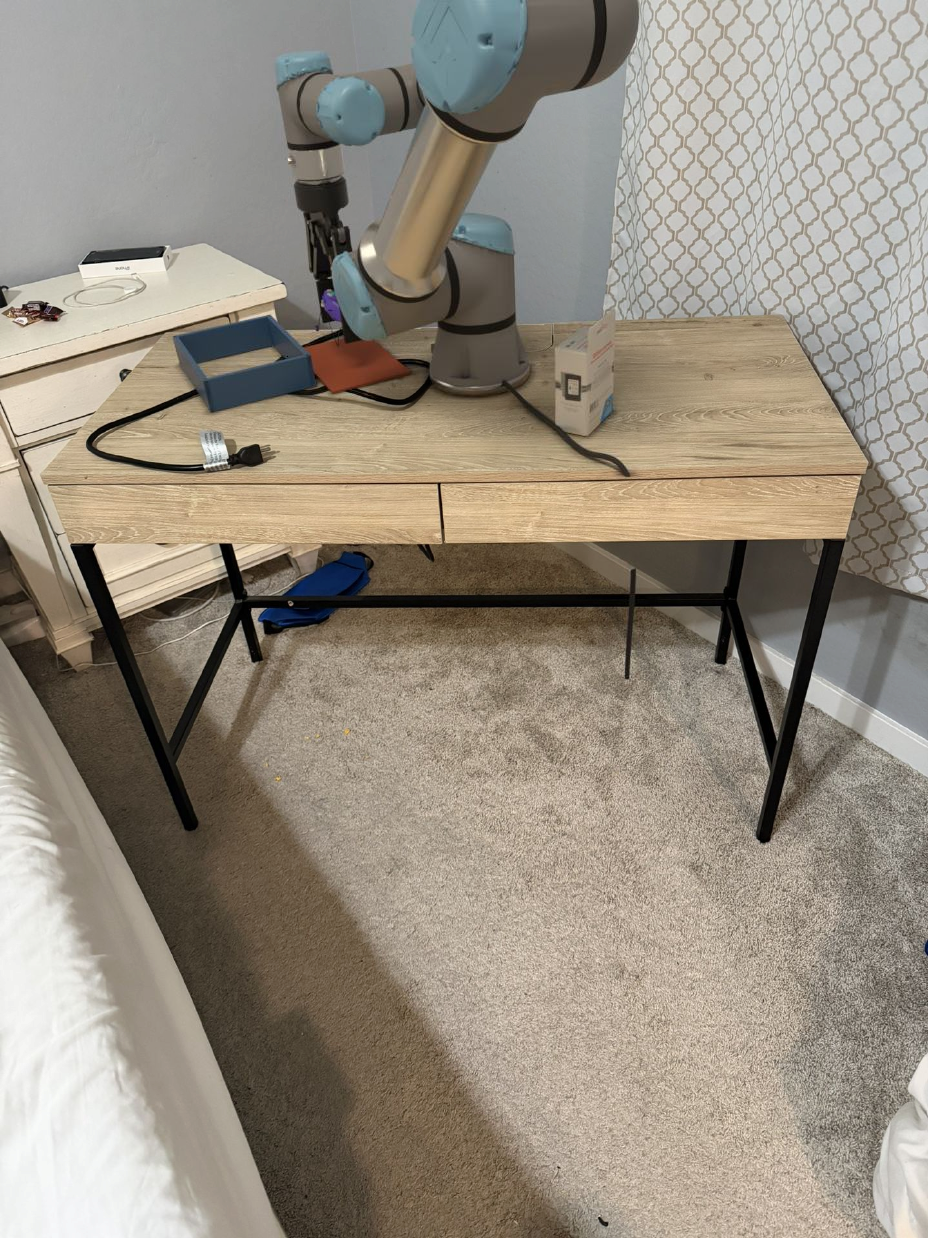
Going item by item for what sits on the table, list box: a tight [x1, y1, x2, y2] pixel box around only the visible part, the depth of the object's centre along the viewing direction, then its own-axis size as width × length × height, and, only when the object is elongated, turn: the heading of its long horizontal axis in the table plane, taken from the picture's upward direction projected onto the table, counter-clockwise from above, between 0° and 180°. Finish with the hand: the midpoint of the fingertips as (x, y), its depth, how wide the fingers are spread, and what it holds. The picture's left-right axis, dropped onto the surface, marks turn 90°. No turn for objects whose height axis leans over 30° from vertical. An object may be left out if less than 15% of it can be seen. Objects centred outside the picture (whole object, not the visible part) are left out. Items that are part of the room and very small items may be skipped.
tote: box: [171, 314, 317, 413], centre depth 146 cm, size 22×17×5 cm
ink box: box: [554, 308, 617, 437], centre depth 122 cm, size 9×5×15 cm, turn 148°
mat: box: [303, 337, 412, 395], centre depth 148 cm, size 20×13×1 cm, turn 26°
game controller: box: [315, 284, 342, 347], centre depth 144 cm, size 10×8×10 cm
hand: (341, 330), depth 145 cm, fingers closed on game controller, 10 cm apart
